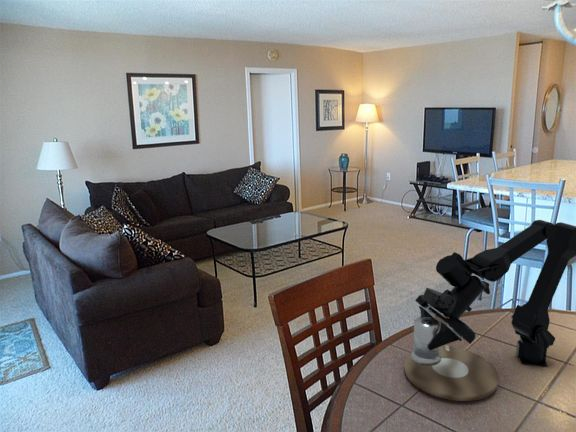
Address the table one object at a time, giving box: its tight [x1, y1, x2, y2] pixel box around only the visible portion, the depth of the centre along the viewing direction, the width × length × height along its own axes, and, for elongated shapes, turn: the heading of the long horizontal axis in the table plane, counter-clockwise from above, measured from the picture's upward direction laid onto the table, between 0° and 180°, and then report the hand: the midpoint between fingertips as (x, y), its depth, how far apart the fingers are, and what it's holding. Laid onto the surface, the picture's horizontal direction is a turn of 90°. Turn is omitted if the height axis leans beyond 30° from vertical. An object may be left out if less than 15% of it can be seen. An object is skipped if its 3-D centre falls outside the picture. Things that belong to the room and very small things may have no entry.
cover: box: [411, 316, 441, 366], centre depth 113 cm, size 7×7×10 cm
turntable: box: [404, 344, 499, 402], centre depth 117 cm, size 23×23×2 cm
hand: (421, 342), depth 113 cm, fingers closed on cover, 6 cm apart
